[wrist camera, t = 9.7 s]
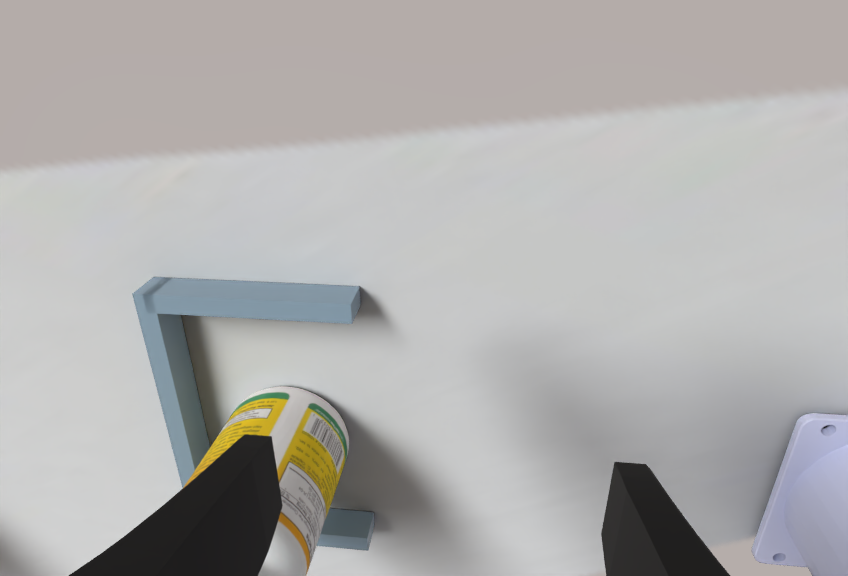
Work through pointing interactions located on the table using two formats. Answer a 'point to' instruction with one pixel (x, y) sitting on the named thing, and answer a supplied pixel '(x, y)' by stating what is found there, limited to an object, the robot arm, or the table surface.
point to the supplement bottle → (292, 466)
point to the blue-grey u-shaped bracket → (175, 375)
